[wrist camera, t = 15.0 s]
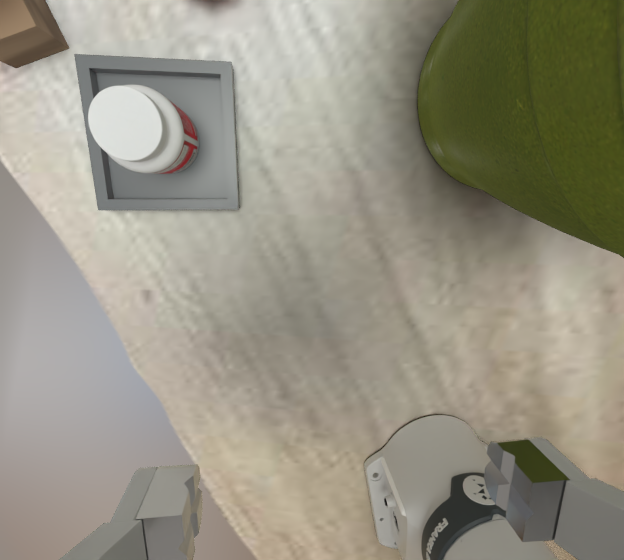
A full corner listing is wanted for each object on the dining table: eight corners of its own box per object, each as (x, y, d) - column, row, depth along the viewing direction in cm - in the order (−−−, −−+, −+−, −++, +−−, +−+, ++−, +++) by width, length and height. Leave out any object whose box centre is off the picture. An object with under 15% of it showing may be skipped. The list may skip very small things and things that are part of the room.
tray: (239, 207, 38) (238, 209, 36) (107, 208, 36) (98, 210, 34) (233, 69, 34) (231, 61, 32) (86, 62, 32) (74, 54, 30)
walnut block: (69, 48, 32) (36, 25, 27) (16, 68, 32) (-27, 49, 27) (37, -15, 31) (-4, -51, 26) (-18, 5, 30) (-70, -27, 26)
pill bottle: (134, 98, 33) (74, 61, 22) (202, 112, 34) (176, 82, 24) (131, 168, 35) (74, 164, 24) (197, 179, 36) (170, 179, 25)
